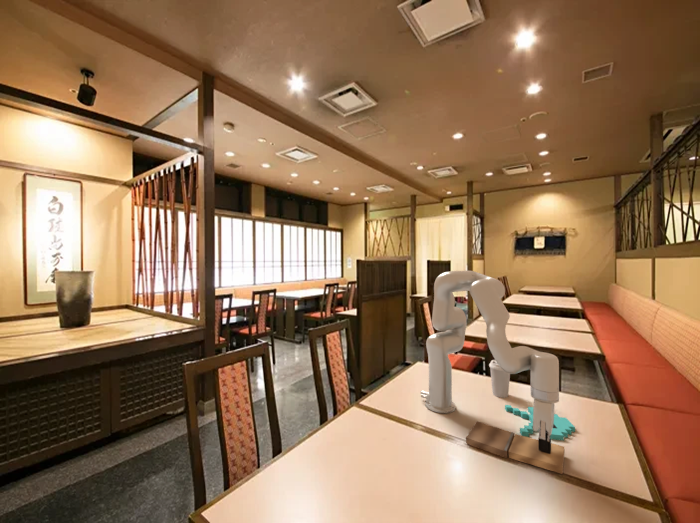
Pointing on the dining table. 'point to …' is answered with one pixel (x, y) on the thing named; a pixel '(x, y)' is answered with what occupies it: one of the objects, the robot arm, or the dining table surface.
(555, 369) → the robot arm
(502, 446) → the walnut board
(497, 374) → the coffee cup
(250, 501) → the dining table surface
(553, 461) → the oak plank
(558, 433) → the alien figure
